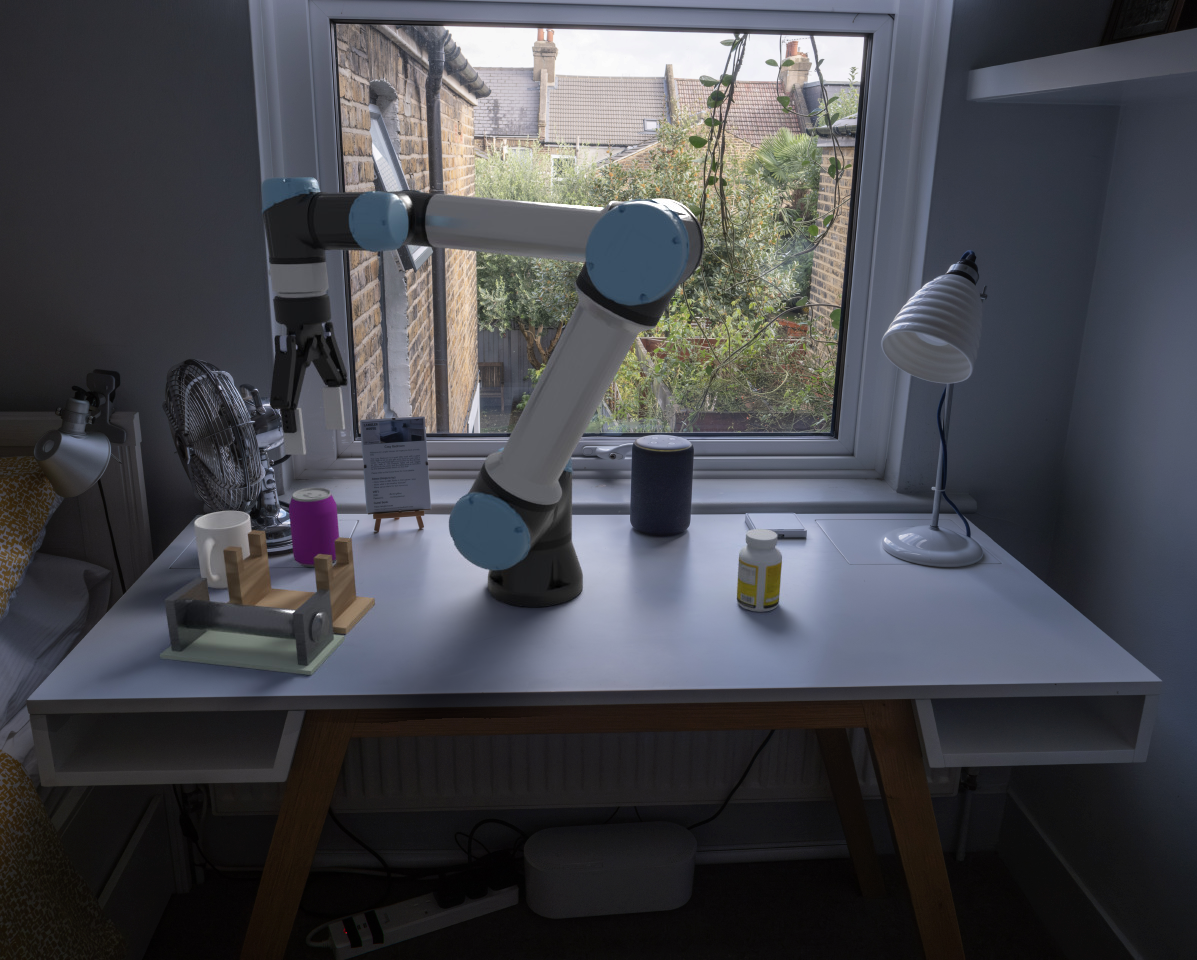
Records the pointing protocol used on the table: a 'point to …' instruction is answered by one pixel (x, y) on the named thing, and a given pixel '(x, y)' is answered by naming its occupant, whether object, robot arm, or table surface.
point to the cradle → (255, 589)
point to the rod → (249, 620)
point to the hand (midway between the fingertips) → (316, 441)
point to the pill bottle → (759, 571)
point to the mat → (250, 652)
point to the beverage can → (313, 524)
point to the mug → (220, 542)
